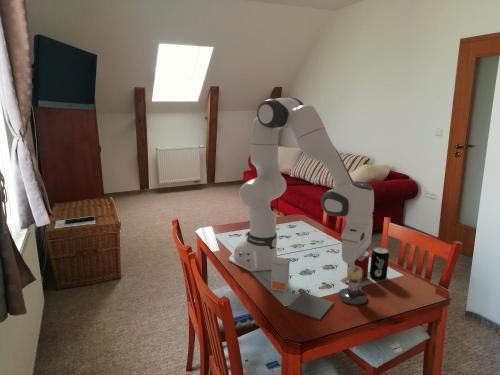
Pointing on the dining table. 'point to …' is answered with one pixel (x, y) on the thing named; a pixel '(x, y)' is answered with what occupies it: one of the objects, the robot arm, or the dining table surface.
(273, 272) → the skincare box
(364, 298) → the silver metal stand
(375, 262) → the beverage can
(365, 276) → the canned food
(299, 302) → the mat
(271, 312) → the dining table surface
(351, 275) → the cap
